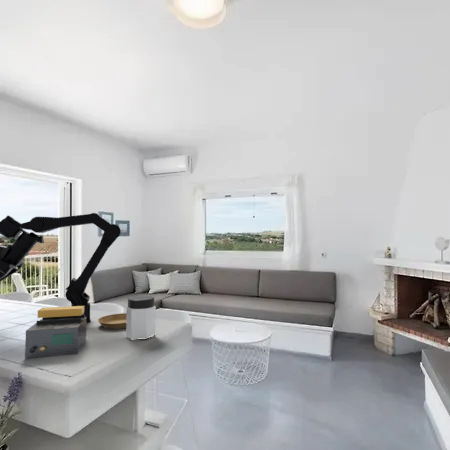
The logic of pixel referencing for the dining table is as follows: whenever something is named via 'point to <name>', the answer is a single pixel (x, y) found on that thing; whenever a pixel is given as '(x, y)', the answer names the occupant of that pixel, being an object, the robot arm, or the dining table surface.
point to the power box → (56, 336)
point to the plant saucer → (113, 321)
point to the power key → (61, 311)
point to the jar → (140, 317)
